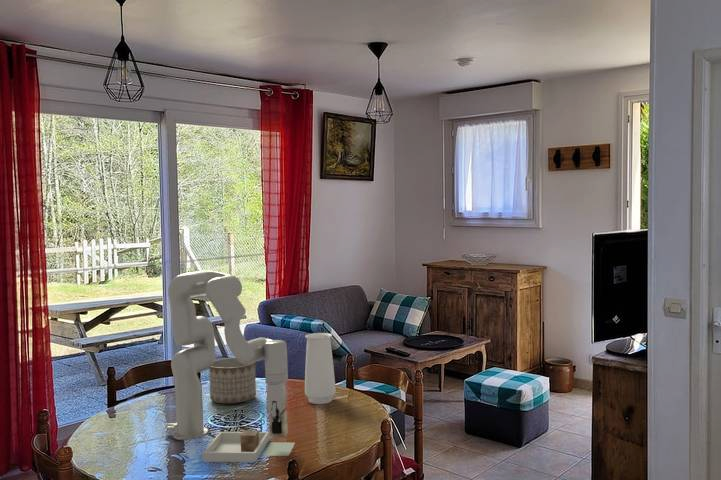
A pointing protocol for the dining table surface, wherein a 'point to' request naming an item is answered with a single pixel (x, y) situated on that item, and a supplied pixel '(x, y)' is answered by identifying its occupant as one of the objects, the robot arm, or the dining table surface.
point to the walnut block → (249, 440)
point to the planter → (232, 381)
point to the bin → (232, 448)
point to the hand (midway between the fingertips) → (278, 429)
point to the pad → (278, 449)
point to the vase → (319, 369)
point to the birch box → (284, 425)
